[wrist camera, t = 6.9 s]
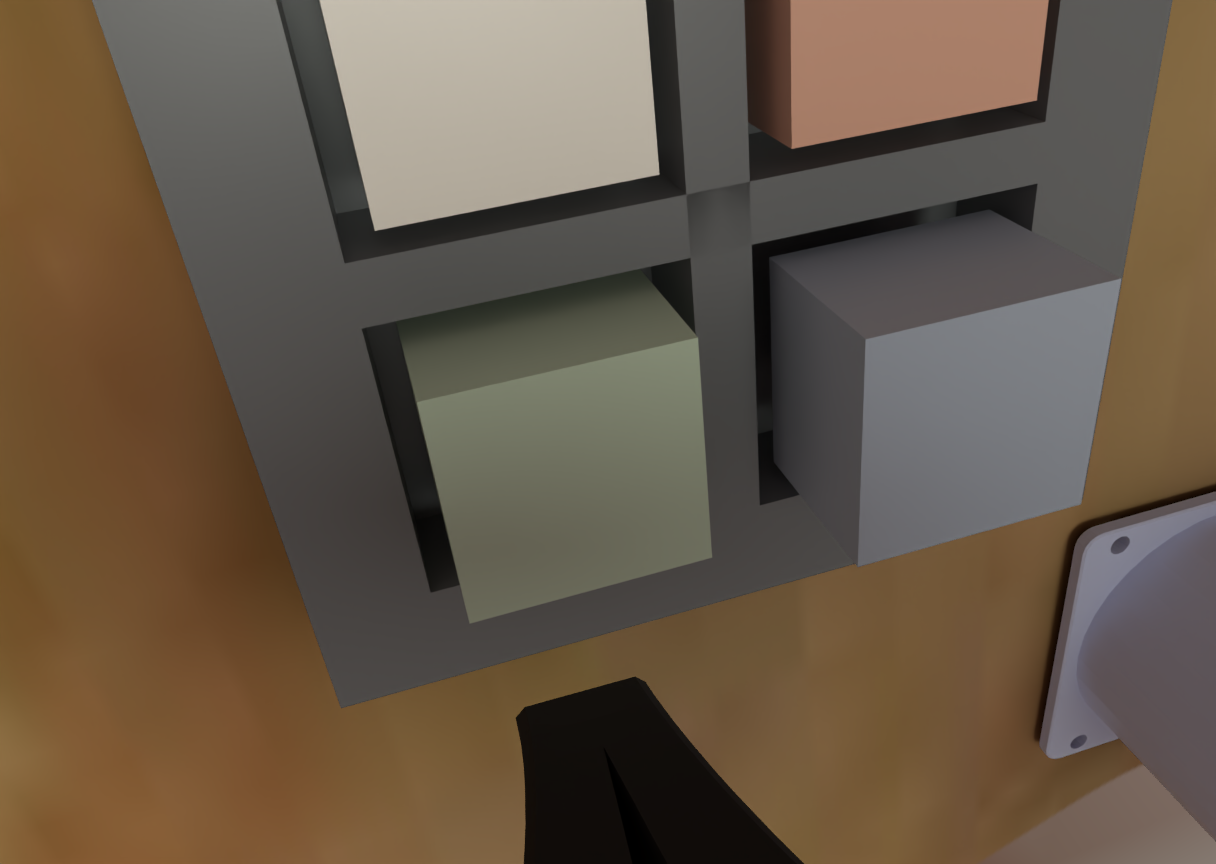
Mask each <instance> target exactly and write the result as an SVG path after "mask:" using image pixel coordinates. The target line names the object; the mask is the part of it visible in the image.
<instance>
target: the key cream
mask: <svg viewBox="0 0 1216 864" xmlns="http://www.w3.org/2000/svg"><path fill="white" fill-rule="evenodd" d="M319 4H320V8H321V12H322V17H323V21H324V25H325V29H326V33H327V37H328V42H329V46H330V50H331V54H332V58H333V62H334V67H335V71H336V75H337V79H338V83H339V87H340V92H341V96H342V100H343V104H344V108H345V112H346V117H347V121H348V125H349V129H350V133H351V137H352V141H353V146H354V150H355V154H356V158H357V162H358V166H359V171H360V175H361V179H362V183H363V187H364V191H365V195H366V199H367V203H368V206H369V210H370V214H371V218H372V222H373V226H374V229H375V231H377V230H382V229H387V228H392V227H397V226H402V225H407V224H412V223H417V222H422V221H427V220H432V219H437V218H443V217H448V216H453V215H458V214H463V213H468V212H473V211H478V210H483V209H488V208H493V207H498V206H503V205H508V204H513V203H518V202H523V201H529V200H534V199H539V198H544V197H549V196H554V195H559V194H564V193H569V192H574V191H579V190H584V189H589V188H594V187H599V186H604V185H610V184H615V183H620V182H625V181H630V180H635V179H640V178H645V177H650V176H655V175H659V162H658V150H657V137H656V124H655V112H654V99H653V87H652V74H651V61H650V49H649V36H648V24H647V11H646V0H319Z"/></svg>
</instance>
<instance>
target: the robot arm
mask: <svg viewBox="0 0 1216 864" xmlns="http://www.w3.org/2000/svg"><path fill="white" fill-rule="evenodd" d="M516 721H517V726H518V731H519V736H520V740H521V745H522V754H523V762H524V775H525V815H526V829H525V852H524V864H804V863H803V862H802V861H801V860H800V859H799V858H798V857H797V856H796V855H795V854H794V853H793V852H792V851H791V850H790V849H789V848H788V847H787V846H786V845H785V844H784V843H783V842H782V841H781V840H780V839H779V838H777V837H776V836H775V835H774V834H773V832H772V831H771V830H770V829H769V828H768V827H767V826H766V825H765V824H764V823H763V822H762V821H761V820H760V819H759V818H758V817H757V816H756V815H755V814H754V812H753V811H752V810H751V809H750V808H749V807H748V806H747V805H746V804H745V803H744V802H743V801H742V800H741V799H740V798H739V797H738V796H737V795H736V794H735V792H734V791H733V790H732V789H731V788H730V787H729V786H728V785H727V784H726V783H725V782H724V780H723V779H722V778H721V777H720V776H719V775H718V774H717V773H716V771H715V770H714V769H713V768H712V767H711V766H710V765H709V763H708V762H707V761H706V760H705V759H704V757H703V756H702V755H701V754H700V753H699V752H698V750H697V749H696V748H695V747H694V746H693V745H692V743H691V742H690V741H689V740H688V738H687V737H686V736H685V735H684V734H683V732H682V731H681V730H680V729H679V727H678V726H677V725H676V724H675V722H674V721H673V720H672V718H671V717H670V716H669V714H668V713H667V712H666V710H665V709H664V708H663V706H662V705H661V704H660V702H659V701H658V700H657V698H656V697H655V695H654V694H653V693H652V691H651V690H650V688H649V687H648V685H647V684H646V682H644V681H642V680H640V679H639V678H637V677H632V678H628V679H625V680H621V681H618V682H614V683H610V684H607V685H603V686H600V687H596V688H592V689H589V690H585V691H582V692H578V693H574V694H571V695H567V696H564V697H560V698H556V699H553V700H549V701H545V702H542V703H538V704H535V705H531V706H527V707H525V708H524V709H523V710H522V711H521V712H520V714H519V715H518V716H517V717H516ZM1116 739H1120V740H1121V741H1122V742H1123V743H1124V744H1125V745H1126V746H1127V747H1128V748H1129V749H1130V751H1131V752H1132V753H1133V754H1134V755H1135V756H1136V757H1137V758H1138V759H1139V760H1140V761H1141V762H1142V763H1143V764H1144V765H1145V767H1146V768H1147V769H1148V770H1149V771H1150V772H1151V773H1152V774H1153V775H1154V776H1155V777H1156V778H1157V779H1158V780H1159V782H1160V783H1162V785H1163V786H1164V787H1165V788H1166V789H1167V790H1168V791H1169V792H1170V793H1171V794H1172V795H1173V796H1174V798H1176V800H1177V801H1178V802H1179V803H1180V804H1181V805H1182V806H1183V807H1184V808H1185V809H1186V810H1187V811H1188V812H1189V814H1190V815H1191V816H1192V817H1193V818H1194V819H1195V820H1196V821H1197V822H1198V823H1199V824H1200V825H1201V826H1202V827H1203V828H1204V829H1205V831H1206V832H1207V833H1208V834H1209V835H1210V836H1211V837H1212V838H1213V839H1214V840H1215V841H1216V491H1215V492H1212V493H1208V494H1205V495H1201V496H1198V497H1194V498H1191V499H1187V500H1184V501H1180V502H1177V503H1173V504H1170V505H1167V506H1163V507H1160V508H1156V509H1153V510H1149V511H1146V512H1142V513H1139V514H1135V515H1132V516H1128V517H1125V518H1121V519H1118V520H1114V521H1111V522H1107V523H1104V524H1100V525H1097V526H1094V527H1091V528H1089V529H1087V530H1086V531H1085V532H1083V533H1082V534H1081V535H1080V537H1079V538H1078V539H1077V542H1076V544H1075V548H1074V553H1073V559H1072V565H1071V570H1070V576H1069V581H1068V587H1067V592H1066V598H1065V603H1064V609H1063V614H1062V620H1061V625H1060V631H1059V637H1058V642H1057V648H1056V653H1055V659H1054V664H1053V670H1052V675H1051V681H1050V686H1049V692H1048V697H1047V703H1046V709H1045V714H1044V720H1043V725H1042V731H1041V736H1040V742H1039V745H1040V748H1041V749H1042V750H1043V752H1044V753H1045V754H1046V755H1047V756H1048V757H1049V758H1052V759H1057V758H1062V757H1065V756H1068V755H1071V754H1074V753H1077V752H1080V751H1083V750H1086V749H1089V748H1092V747H1095V746H1098V745H1101V744H1104V743H1107V742H1110V741H1113V740H1116Z"/></svg>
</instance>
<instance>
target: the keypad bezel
mask: <svg viewBox="0 0 1216 864" xmlns="http://www.w3.org/2000/svg"><path fill="white" fill-rule="evenodd" d="M92 2H93V5H94V7H95V10H96V13H97V16H98V19H99V22H100V24H101V27H102V30H103V33H104V36H105V39H106V42H107V44H108V47H109V50H110V53H111V56H112V59H113V61H114V64H115V67H116V70H117V73H118V76H119V78H120V81H121V84H122V87H123V90H124V93H125V96H126V98H127V101H128V104H129V107H130V110H131V113H132V115H133V118H134V121H135V124H136V127H137V130H138V132H139V135H140V138H141V141H142V144H143V147H144V150H145V152H146V155H147V158H148V161H149V164H150V167H151V169H152V172H153V175H154V178H155V181H156V184H157V186H158V189H159V192H160V195H161V198H162V201H163V204H164V206H165V209H166V212H167V215H168V218H169V221H170V223H171V226H172V229H173V232H174V235H175V238H176V240H177V243H178V246H179V249H180V252H181V255H182V258H183V260H184V263H185V266H186V269H187V272H188V275H189V277H190V280H191V283H192V286H193V289H194V292H195V294H196V297H197V300H198V303H199V306H200V309H201V312H202V314H203V317H204V320H205V323H206V326H207V329H208V331H209V334H210V337H211V340H212V343H213V346H214V348H215V351H216V354H217V357H218V360H219V363H220V366H221V368H222V371H223V374H224V377H225V380H226V383H227V385H228V388H229V391H230V394H231V397H232V400H233V402H234V405H235V408H236V411H237V414H238V417H239V420H240V422H241V425H242V428H243V431H244V434H245V437H246V439H247V442H248V445H249V448H250V451H251V454H252V456H253V459H254V462H255V465H256V468H257V471H258V474H259V476H260V479H261V482H262V485H263V488H264V491H265V493H266V496H267V499H268V502H269V505H270V508H271V510H272V513H273V516H274V519H275V522H276V525H277V528H278V530H279V533H280V536H281V539H282V542H283V545H284V547H285V550H286V553H287V556H288V559H289V562H290V564H291V567H292V570H293V573H294V576H295V579H296V582H297V584H298V587H299V590H300V593H301V596H302V599H303V601H304V604H305V607H306V610H307V613H308V616H309V618H310V621H311V624H312V627H313V630H314V633H315V636H316V638H317V641H318V644H319V647H320V650H321V653H322V655H323V658H324V661H325V664H326V667H327V670H328V672H329V675H330V678H331V681H332V684H333V687H334V690H335V692H336V695H337V698H338V701H339V704H340V707H341V708H344V707H347V706H351V705H354V704H358V703H361V702H365V701H368V700H372V699H376V698H379V697H383V696H386V695H390V694H393V693H397V692H400V691H404V690H408V689H411V688H415V687H418V686H422V685H425V684H429V683H432V682H436V681H440V680H443V679H447V678H450V677H454V676H457V675H461V674H465V673H468V672H472V671H475V670H479V669H482V668H486V667H489V666H493V665H497V664H500V663H504V662H507V661H511V660H514V659H518V658H521V657H525V656H529V655H532V654H536V653H539V652H543V651H546V650H550V649H553V648H557V647H561V646H564V645H568V644H571V643H575V642H578V641H582V640H585V639H589V638H593V637H596V636H600V635H603V634H607V633H610V632H614V631H617V630H621V629H625V628H628V627H632V626H635V625H639V624H642V623H646V622H649V621H653V620H657V619H660V618H664V617H667V616H671V615H674V614H678V613H681V612H685V611H689V610H692V609H696V608H699V607H703V606H706V605H710V604H713V603H717V602H721V601H724V600H728V599H731V598H735V597H738V596H742V595H745V594H749V593H753V592H756V591H760V590H763V589H767V588H770V587H774V586H777V585H781V584H785V583H788V582H792V581H795V580H799V579H802V578H806V577H809V576H813V575H817V574H820V573H824V572H827V571H831V570H834V569H838V568H841V567H845V566H849V565H852V564H855V563H854V562H853V560H852V559H851V558H850V557H849V555H848V554H847V553H846V552H845V550H844V549H843V548H842V547H841V545H840V544H839V543H838V542H837V540H836V539H835V538H834V537H833V535H832V534H831V533H830V532H829V530H828V529H827V528H826V527H825V525H824V524H823V523H822V522H821V520H820V519H819V518H818V517H817V515H816V514H815V513H814V512H813V510H812V509H811V508H810V507H809V505H808V504H807V503H806V502H805V500H804V499H803V498H802V497H801V495H800V494H799V493H798V492H797V490H796V489H795V488H794V487H793V485H792V484H791V483H790V482H789V480H788V479H787V478H786V477H785V475H784V474H783V473H782V472H781V470H780V469H779V468H778V467H777V465H776V464H775V463H774V457H773V409H772V362H771V315H770V267H769V257H773V256H778V255H782V254H787V253H791V252H796V251H801V250H805V249H810V248H814V247H819V246H824V245H828V244H833V243H837V242H842V241H847V240H851V239H856V238H860V237H865V236H870V235H874V234H879V233H883V232H888V231H892V230H897V229H902V228H906V227H911V226H915V225H920V224H925V223H929V222H934V221H938V220H943V219H948V218H952V217H957V216H961V215H966V214H971V213H975V212H980V211H984V210H989V209H990V210H991V211H993V212H995V213H997V214H999V215H1001V216H1003V217H1005V218H1007V219H1009V220H1011V221H1012V222H1014V223H1016V224H1018V225H1020V226H1022V227H1024V228H1026V229H1028V230H1030V231H1032V232H1033V233H1035V234H1037V235H1039V236H1041V237H1043V238H1045V239H1047V240H1049V241H1051V242H1053V243H1054V244H1056V245H1058V246H1060V247H1062V248H1064V249H1066V250H1068V251H1070V252H1072V253H1074V254H1075V255H1077V256H1079V257H1081V258H1083V259H1085V260H1087V261H1089V262H1091V263H1093V264H1094V265H1096V266H1098V267H1100V268H1102V269H1104V270H1106V271H1108V272H1110V273H1112V274H1114V275H1115V276H1117V277H1119V278H1121V283H1122V277H1123V272H1124V266H1125V261H1126V255H1127V250H1128V244H1129V238H1130V233H1131V227H1132V222H1133V216H1134V211H1135V205H1136V200H1137V194H1138V188H1139V183H1140V177H1141V172H1142V166H1143V161H1144V155H1145V150H1146V144H1147V138H1148V133H1149V127H1150V122H1151V116H1152V111H1153V105H1154V100H1155V94H1156V88H1157V83H1158V77H1159V72H1160V66H1161V61H1162V55H1163V50H1164V44H1165V38H1166V33H1167V27H1168V22H1169V16H1170V11H1171V5H1172V0H1049V2H1048V10H1047V19H1046V27H1045V35H1044V44H1043V52H1042V61H1041V69H1040V77H1039V86H1038V94H1037V101H1032V102H1027V103H1022V104H1017V105H1011V106H1006V107H1001V108H996V109H991V110H986V111H981V112H976V113H971V114H966V115H961V116H956V117H951V118H946V119H941V120H936V121H931V122H925V123H920V124H915V125H910V126H905V127H900V128H895V129H890V130H885V131H880V132H875V133H870V134H865V135H860V136H855V137H850V138H845V139H840V140H834V141H829V142H824V143H819V144H814V145H809V146H804V147H799V148H794V149H791V148H789V147H788V146H786V145H784V144H783V143H781V142H779V141H778V140H776V139H775V138H773V137H771V136H770V135H768V134H766V133H765V132H763V131H761V130H760V129H758V128H756V127H755V126H753V125H751V124H750V123H748V106H747V74H746V41H745V9H744V0H646V11H647V24H648V36H649V49H650V61H651V74H652V87H653V99H654V112H655V124H656V137H657V150H658V162H659V175H655V176H650V177H645V178H640V179H635V180H630V181H625V182H620V183H615V184H610V185H604V186H599V187H594V188H589V189H584V190H579V191H574V192H569V193H564V194H559V195H554V196H549V197H544V198H539V199H534V200H529V201H523V202H518V203H513V204H508V205H503V206H498V207H493V208H488V209H483V210H478V211H473V212H468V213H463V214H458V215H453V216H448V217H443V218H437V219H432V220H427V221H422V222H417V223H412V224H407V225H402V226H397V227H392V228H387V229H382V230H377V231H375V229H374V226H373V222H372V218H371V214H370V210H369V206H368V203H367V199H366V195H365V191H364V187H363V183H362V179H361V175H360V171H359V166H358V162H357V158H356V154H355V150H354V146H353V141H352V137H351V133H350V129H349V125H348V121H347V117H346V112H345V108H344V104H343V100H342V96H341V92H340V87H339V83H338V79H337V75H336V71H335V67H334V62H333V58H332V54H331V50H330V46H329V42H328V37H327V33H326V29H325V25H324V21H323V17H322V12H321V8H320V4H319V0H92ZM637 269H640V270H641V271H642V272H643V273H644V274H645V275H646V277H647V278H648V279H649V280H650V281H651V283H652V284H653V285H654V286H655V287H656V288H657V290H658V291H659V292H660V293H661V294H662V296H663V297H664V298H665V299H666V300H667V301H668V303H669V304H670V305H671V306H672V307H673V309H674V310H675V311H676V312H677V313H678V314H679V316H680V317H681V318H682V319H683V320H684V322H685V323H686V324H687V325H688V326H689V327H690V329H691V330H692V331H693V332H694V333H695V335H696V336H697V337H698V345H699V361H700V377H701V392H702V408H703V423H704V439H705V454H706V470H707V486H708V501H709V517H710V532H711V548H712V558H709V559H705V560H702V561H698V562H694V563H691V564H687V565H683V566H680V567H676V568H672V569H669V570H665V571H661V572H657V573H654V574H650V575H646V576H643V577H639V578H635V579H632V580H628V581H624V582H621V583H617V584H613V585H610V586H606V587H602V588H599V589H595V590H591V591H588V592H584V593H580V594H577V595H573V596H569V597H566V598H562V599H558V600H555V601H551V602H547V603H544V604H540V605H536V606H533V607H529V608H525V609H522V610H518V611H514V612H511V613H507V614H503V615H500V616H496V617H492V618H489V619H485V620H481V621H478V622H474V623H469V619H468V615H467V611H466V607H465V603H464V599H463V595H462V591H461V587H460V583H459V579H458V575H457V571H456V567H455V563H454V559H453V555H452V551H451V547H450V544H449V540H448V536H447V532H446V528H445V524H444V520H443V516H442V512H441V508H440V503H439V499H438V495H437V491H436V487H435V483H434V479H433V474H432V470H431V466H430V462H429V458H428V454H427V449H426V445H425V441H424V437H423V433H422V429H421V424H420V420H419V416H418V412H417V408H416V404H415V399H414V395H413V391H412V387H411V383H410V379H409V374H408V370H407V366H406V362H405V358H404V354H403V350H402V345H401V341H400V337H399V333H398V329H397V325H396V321H399V320H404V319H409V318H413V317H418V316H423V315H427V314H432V313H437V312H441V311H446V310H451V309H455V308H460V307H464V306H469V305H474V304H478V303H483V302H488V301H492V300H497V299H502V298H506V297H511V296H516V295H520V294H525V293H530V292H534V291H539V290H544V289H548V288H553V287H558V286H562V285H567V284H572V283H576V282H581V281H586V280H590V279H595V278H600V277H604V276H609V275H614V274H618V273H623V272H628V271H632V270H637ZM1120 288H1121V284H1120ZM1119 294H1120V289H1119ZM1118 300H1119V295H1118ZM1118 300H1117V305H1118ZM1116 311H1117V306H1116ZM1116 311H1115V316H1116ZM1114 322H1115V317H1114ZM1113 327H1114V323H1113ZM1112 333H1113V328H1112ZM1111 338H1112V334H1111ZM1110 344H1111V339H1110ZM1109 349H1110V345H1109ZM1108 355H1109V350H1108ZM1107 361H1108V356H1107ZM1106 366H1107V362H1106ZM1105 372H1106V367H1105ZM1104 377H1105V373H1104ZM1103 383H1104V378H1103ZM1102 388H1103V384H1102ZM1101 394H1102V389H1101ZM1100 399H1101V395H1100ZM1099 405H1100V401H1099ZM1098 411H1099V406H1098ZM1097 416H1098V412H1097ZM1096 422H1097V417H1096ZM1095 427H1096V423H1095ZM1094 433H1095V428H1094ZM1093 438H1094V434H1093ZM1092 444H1093V440H1092ZM1091 449H1092V445H1091ZM1090 455H1091V451H1090ZM1089 461H1090V456H1089ZM1088 466H1089V462H1088ZM1087 472H1088V467H1087ZM1086 477H1087V473H1086ZM1085 483H1086V479H1085ZM1084 488H1085V484H1084ZM1083 494H1084V490H1083ZM1082 499H1083V495H1082Z"/></svg>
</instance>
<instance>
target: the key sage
mask: <svg viewBox="0 0 1216 864" xmlns="http://www.w3.org/2000/svg"><path fill="white" fill-rule="evenodd" d="M396 325H397V329H398V333H399V337H400V341H401V345H402V350H403V354H404V358H405V362H406V366H407V370H408V374H409V379H410V383H411V387H412V391H413V395H414V399H415V404H416V408H417V412H418V416H419V420H420V424H421V429H422V433H423V437H424V441H425V445H426V449H427V454H428V458H429V462H430V466H431V470H432V474H433V479H434V483H435V487H436V491H437V495H438V499H439V503H440V508H441V512H442V516H443V520H444V524H445V528H446V532H447V536H448V540H449V544H450V547H451V551H452V555H453V559H454V563H455V567H456V571H457V575H458V579H459V583H460V587H461V591H462V595H463V599H464V603H465V607H466V611H467V615H468V619H469V623H474V622H478V621H481V620H485V619H489V618H492V617H496V616H500V615H503V614H507V613H511V612H514V611H518V610H522V609H525V608H529V607H533V606H536V605H540V604H544V603H547V602H551V601H555V600H558V599H562V598H566V597H569V596H573V595H577V594H580V593H584V592H588V591H591V590H595V589H599V588H602V587H606V586H610V585H613V584H617V583H621V582H624V581H628V580H632V579H635V578H639V577H643V576H646V575H650V574H654V573H657V572H661V571H665V570H669V569H672V568H676V567H680V566H683V565H687V564H691V563H694V562H698V561H702V560H705V559H709V558H712V548H711V532H710V517H709V501H708V486H707V470H706V454H705V439H704V423H703V408H702V392H701V377H700V361H699V345H698V337H697V336H696V335H695V333H694V332H693V331H692V330H691V329H690V327H689V326H688V325H687V324H686V323H685V322H684V320H683V319H682V318H681V317H680V316H679V314H678V313H677V312H676V311H675V310H674V309H673V307H672V306H671V305H670V304H669V303H668V301H667V300H666V299H665V298H664V297H663V296H662V294H661V293H660V292H659V291H658V290H657V288H656V287H655V286H654V285H653V284H652V283H651V281H650V280H649V279H648V278H647V277H646V275H645V274H644V273H643V272H642V271H641V270H640V269H637V270H632V271H628V272H623V273H618V274H614V275H609V276H604V277H600V278H595V279H590V280H586V281H581V282H576V283H572V284H567V285H562V286H558V287H553V288H548V289H544V290H539V291H534V292H530V293H525V294H520V295H516V296H511V297H506V298H502V299H497V300H492V301H488V302H483V303H478V304H474V305H469V306H464V307H460V308H455V309H451V310H446V311H441V312H437V313H432V314H427V315H423V316H418V317H413V318H409V319H404V320H399V321H396Z"/></svg>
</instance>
